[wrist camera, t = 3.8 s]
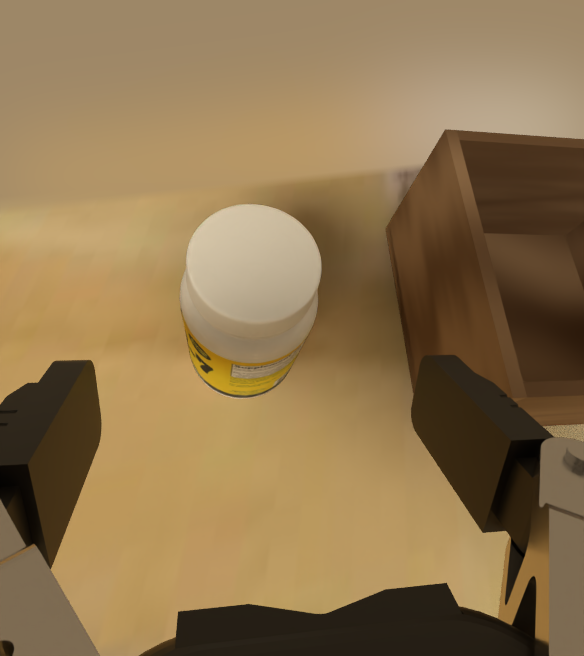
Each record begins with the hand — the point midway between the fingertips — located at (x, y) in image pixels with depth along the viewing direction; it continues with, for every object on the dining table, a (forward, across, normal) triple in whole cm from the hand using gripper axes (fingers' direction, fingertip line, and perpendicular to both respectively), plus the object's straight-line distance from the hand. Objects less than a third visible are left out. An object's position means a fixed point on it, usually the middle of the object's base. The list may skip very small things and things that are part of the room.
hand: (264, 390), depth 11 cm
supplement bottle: (+9, 0, +4) cm, 10 cm away
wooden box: (+10, -14, +2) cm, 17 cm away
